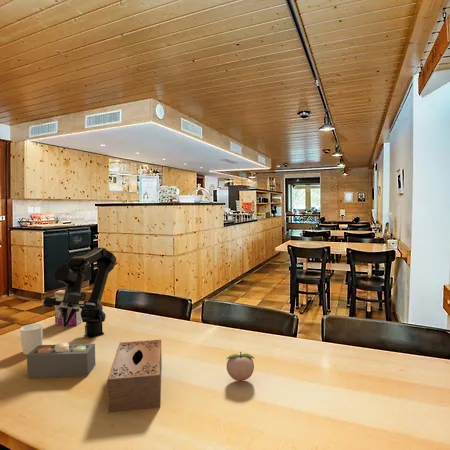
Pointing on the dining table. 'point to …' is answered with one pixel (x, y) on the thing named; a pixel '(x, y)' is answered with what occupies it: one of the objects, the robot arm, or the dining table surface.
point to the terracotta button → (44, 350)
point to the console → (61, 362)
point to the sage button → (79, 349)
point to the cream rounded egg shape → (62, 347)
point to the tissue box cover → (135, 377)
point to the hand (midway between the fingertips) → (64, 327)
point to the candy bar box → (75, 318)
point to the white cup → (31, 337)
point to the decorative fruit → (240, 366)
